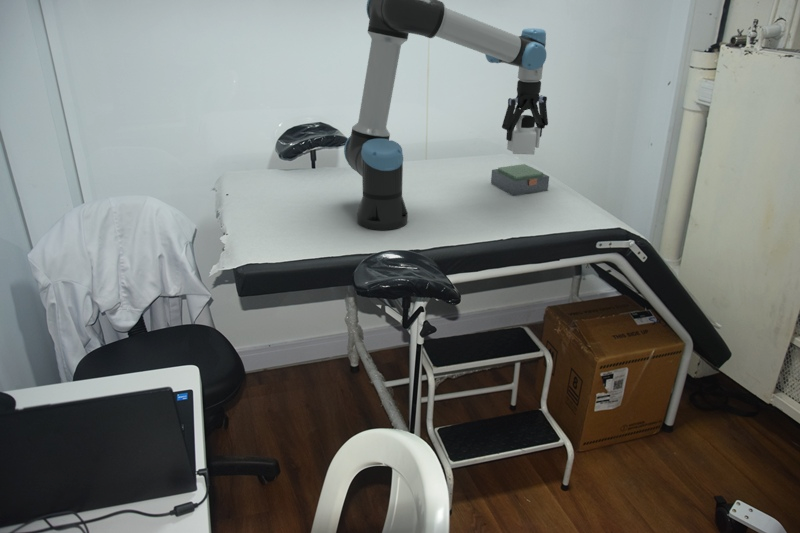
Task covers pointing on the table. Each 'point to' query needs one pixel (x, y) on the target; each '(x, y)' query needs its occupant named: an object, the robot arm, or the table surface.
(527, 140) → the medicine bottle
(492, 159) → the table surface
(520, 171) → the stand
